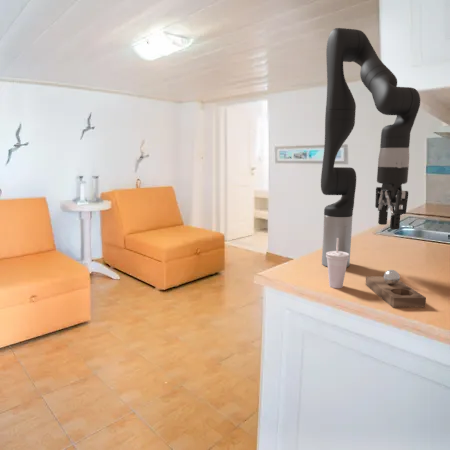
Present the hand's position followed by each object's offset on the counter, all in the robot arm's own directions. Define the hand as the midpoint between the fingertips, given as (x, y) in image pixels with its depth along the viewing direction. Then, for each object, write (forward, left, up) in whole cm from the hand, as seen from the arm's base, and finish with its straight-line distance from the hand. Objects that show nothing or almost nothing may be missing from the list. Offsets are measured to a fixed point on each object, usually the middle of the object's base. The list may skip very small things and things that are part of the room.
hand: (388, 226), depth 102 cm
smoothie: (-2, -13, -18) cm, 22 cm away
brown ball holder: (+6, 0, -18) cm, 18 cm away
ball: (+4, 0, -13) cm, 14 cm away
